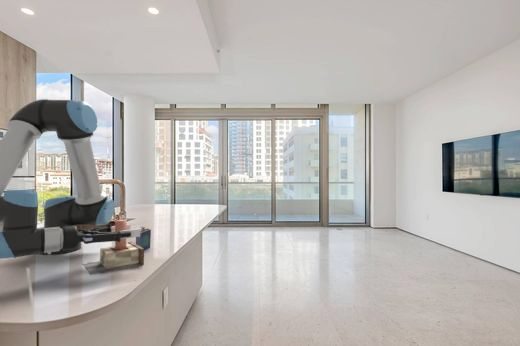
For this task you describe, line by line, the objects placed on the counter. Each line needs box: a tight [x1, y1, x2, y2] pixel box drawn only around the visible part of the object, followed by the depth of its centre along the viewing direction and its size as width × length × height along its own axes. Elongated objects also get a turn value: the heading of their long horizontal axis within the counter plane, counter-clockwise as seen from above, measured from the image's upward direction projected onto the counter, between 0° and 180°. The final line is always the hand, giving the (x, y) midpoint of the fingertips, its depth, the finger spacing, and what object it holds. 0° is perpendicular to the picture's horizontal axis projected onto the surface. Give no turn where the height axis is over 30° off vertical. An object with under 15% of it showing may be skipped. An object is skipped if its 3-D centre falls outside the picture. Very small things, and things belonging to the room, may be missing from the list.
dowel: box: [114, 219, 127, 251], centre depth 96 cm, size 4×4×14 cm
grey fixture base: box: [82, 241, 145, 276], centre depth 95 cm, size 14×16×6 cm
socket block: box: [99, 243, 139, 269], centre depth 96 cm, size 10×10×5 cm
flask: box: [135, 226, 152, 251], centre depth 115 cm, size 9×3×11 cm, turn 172°
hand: (134, 230), depth 99 cm, fingers open, 10 cm apart
